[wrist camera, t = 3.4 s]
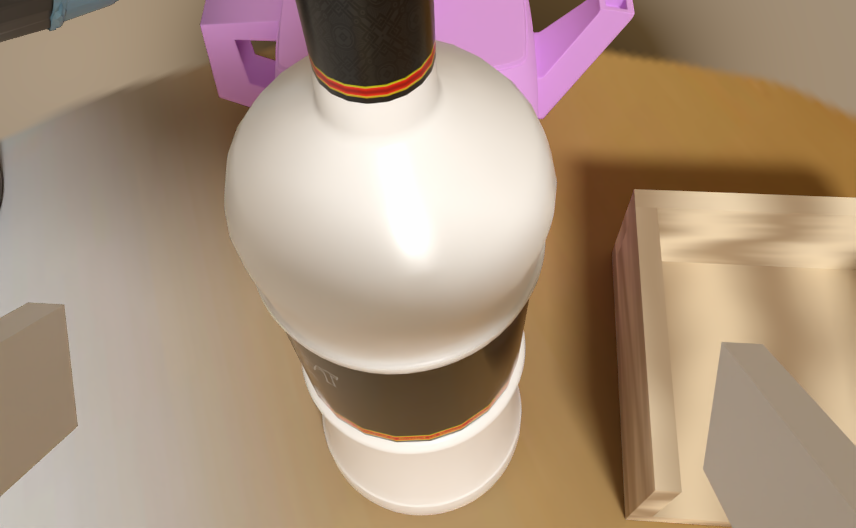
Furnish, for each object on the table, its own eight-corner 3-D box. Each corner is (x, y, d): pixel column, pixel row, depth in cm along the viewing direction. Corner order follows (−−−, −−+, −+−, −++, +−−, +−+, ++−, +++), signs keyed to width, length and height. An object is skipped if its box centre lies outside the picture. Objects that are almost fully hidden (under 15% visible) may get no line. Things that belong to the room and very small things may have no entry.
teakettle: (218, 136, 46) (144, -31, 35) (412, -10, 51) (400, -193, 41) (417, 307, 40) (402, 169, 29) (614, 121, 45) (662, -54, 35)
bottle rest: (625, 519, 34) (655, 490, 29) (611, 252, 41) (634, 189, 36) (947, 541, 33) (1038, 515, 28) (879, 264, 40) (942, 201, 35)
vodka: (496, 542, 34) (622, 70, 8) (303, 491, 35) (-152, -55, 9) (535, 355, 38) (700, -359, 12) (360, 317, 40) (165, -399, 13)
